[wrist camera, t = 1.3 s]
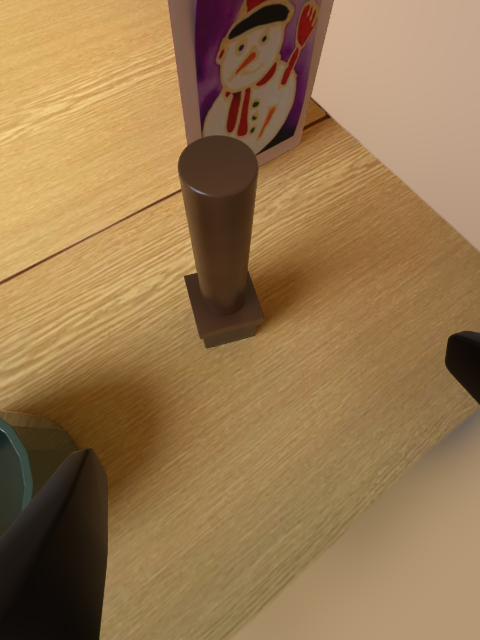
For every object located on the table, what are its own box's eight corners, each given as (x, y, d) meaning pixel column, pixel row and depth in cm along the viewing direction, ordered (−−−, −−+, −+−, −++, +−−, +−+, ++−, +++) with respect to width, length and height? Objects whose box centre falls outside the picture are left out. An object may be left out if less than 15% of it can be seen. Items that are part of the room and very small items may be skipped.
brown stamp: (258, 337, 23) (297, 199, 10) (203, 352, 22) (169, 227, 9) (242, 288, 24) (258, 110, 11) (190, 301, 24) (144, 130, 11)
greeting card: (201, 207, 27) (171, -50, 13) (154, 152, 29) (85, -123, 15) (305, 150, 30) (375, -114, 15) (256, 103, 31) (279, -169, 17)
